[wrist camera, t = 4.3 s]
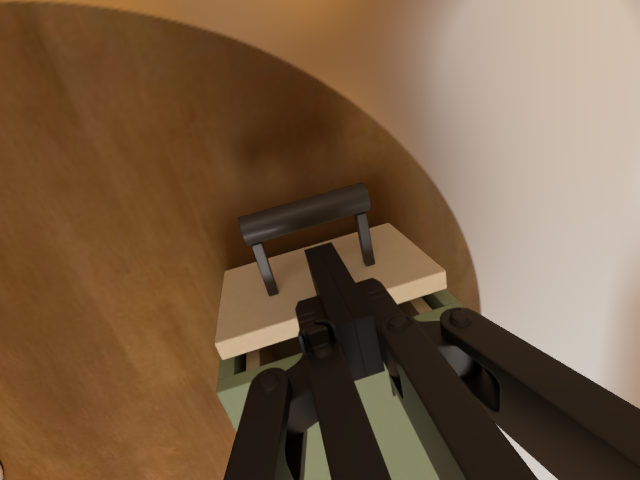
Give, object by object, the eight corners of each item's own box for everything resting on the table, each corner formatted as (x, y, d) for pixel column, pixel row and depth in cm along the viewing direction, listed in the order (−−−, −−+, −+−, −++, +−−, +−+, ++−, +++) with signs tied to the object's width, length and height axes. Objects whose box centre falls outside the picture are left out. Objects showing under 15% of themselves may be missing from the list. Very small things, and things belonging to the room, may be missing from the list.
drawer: (197, 206, 21) (172, 257, 14) (379, 156, 23) (439, 180, 15) (279, 407, 30) (289, 504, 22) (409, 363, 31) (458, 442, 24)
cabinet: (227, 291, 25) (215, 393, 16) (394, 240, 26) (468, 310, 18) (282, 424, 32) (295, 549, 23) (414, 379, 33) (475, 480, 24)
